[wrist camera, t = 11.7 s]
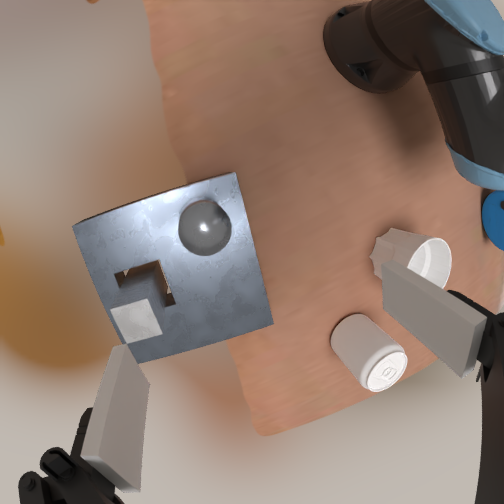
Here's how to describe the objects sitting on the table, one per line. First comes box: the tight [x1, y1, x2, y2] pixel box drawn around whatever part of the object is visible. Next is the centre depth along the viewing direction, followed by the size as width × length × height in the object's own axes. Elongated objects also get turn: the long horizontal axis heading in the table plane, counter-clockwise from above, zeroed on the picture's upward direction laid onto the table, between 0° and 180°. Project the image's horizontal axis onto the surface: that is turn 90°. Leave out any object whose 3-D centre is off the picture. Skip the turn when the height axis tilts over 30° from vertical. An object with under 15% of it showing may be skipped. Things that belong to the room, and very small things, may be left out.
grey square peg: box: [110, 260, 168, 344], centre depth 32 cm, size 4×4×12 cm
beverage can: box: [331, 314, 407, 392], centre depth 42 cm, size 8×8×12 cm
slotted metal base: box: [72, 172, 274, 364], centre depth 33 cm, size 20×20×10 cm
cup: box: [369, 228, 452, 289], centre depth 40 cm, size 10×10×10 cm
